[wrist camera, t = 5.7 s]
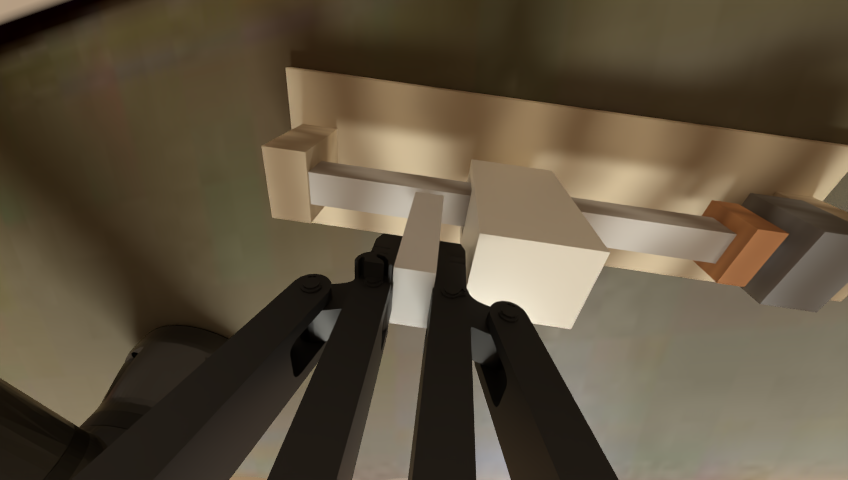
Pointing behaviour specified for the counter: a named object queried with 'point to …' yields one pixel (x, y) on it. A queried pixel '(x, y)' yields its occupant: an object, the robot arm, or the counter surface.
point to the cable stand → (572, 179)
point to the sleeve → (528, 243)
